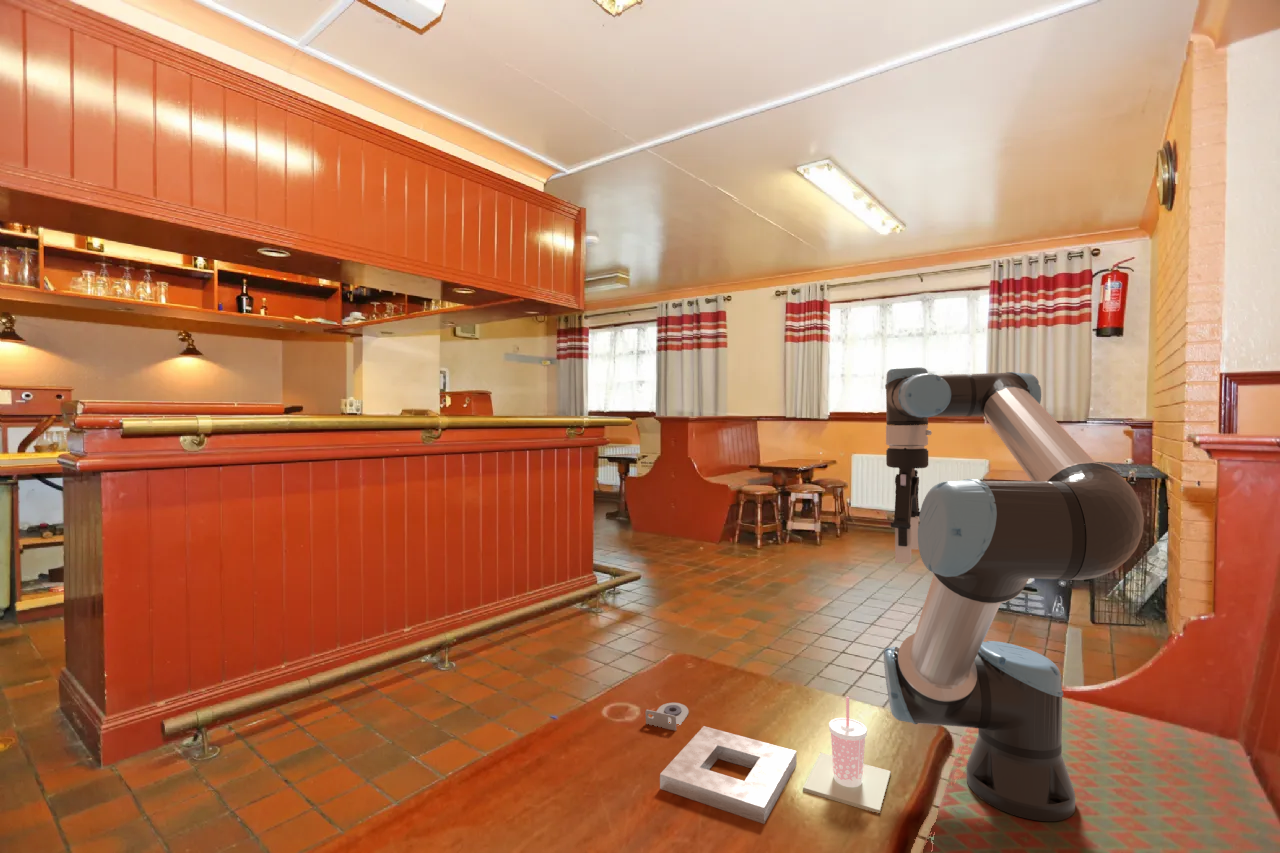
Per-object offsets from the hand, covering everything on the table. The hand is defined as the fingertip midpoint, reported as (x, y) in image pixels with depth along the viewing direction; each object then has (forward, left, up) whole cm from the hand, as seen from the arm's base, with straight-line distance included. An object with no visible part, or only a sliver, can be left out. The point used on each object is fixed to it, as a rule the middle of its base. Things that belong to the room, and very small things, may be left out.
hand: (907, 555), depth 118 cm
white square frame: (+25, +31, -35) cm, 53 cm away
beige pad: (+7, +23, -35) cm, 42 cm away
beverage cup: (+7, +23, -34) cm, 42 cm away
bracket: (+44, +18, -35) cm, 59 cm away
